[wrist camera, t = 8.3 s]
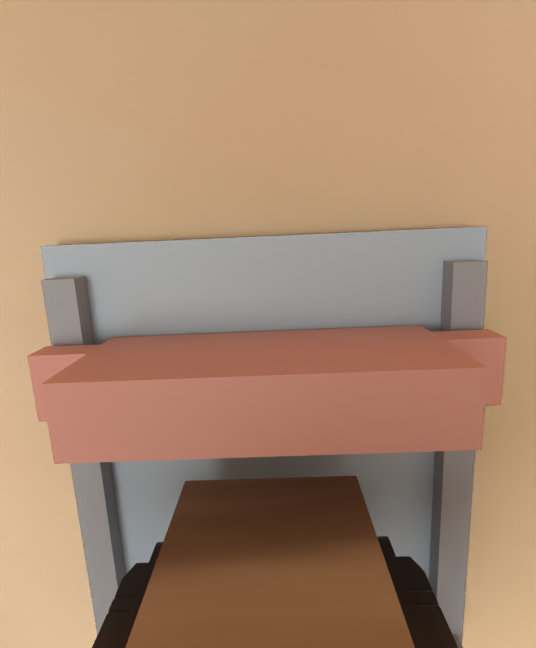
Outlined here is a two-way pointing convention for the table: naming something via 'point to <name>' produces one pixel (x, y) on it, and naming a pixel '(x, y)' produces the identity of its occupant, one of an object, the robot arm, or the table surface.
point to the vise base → (273, 315)
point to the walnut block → (271, 570)
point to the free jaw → (268, 393)
